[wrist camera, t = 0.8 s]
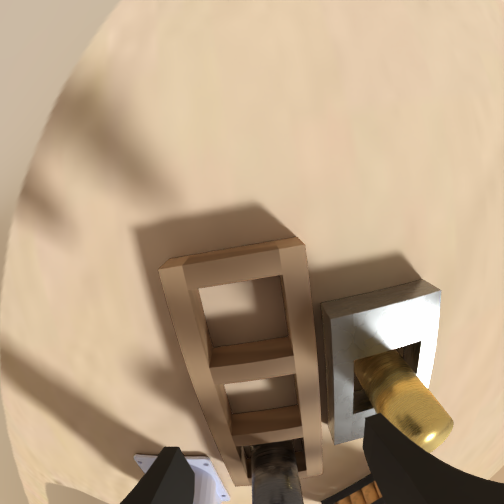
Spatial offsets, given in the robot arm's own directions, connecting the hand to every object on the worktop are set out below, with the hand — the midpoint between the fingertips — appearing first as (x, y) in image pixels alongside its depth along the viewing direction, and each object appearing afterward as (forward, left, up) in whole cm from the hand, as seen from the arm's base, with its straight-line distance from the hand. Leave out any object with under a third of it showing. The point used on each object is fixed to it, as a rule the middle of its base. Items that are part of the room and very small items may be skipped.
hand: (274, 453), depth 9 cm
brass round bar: (-4, -8, -10) cm, 14 cm away
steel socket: (-4, -8, -10) cm, 14 cm away
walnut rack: (-4, +1, -10) cm, 11 cm away
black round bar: (-11, +1, -10) cm, 15 cm away
